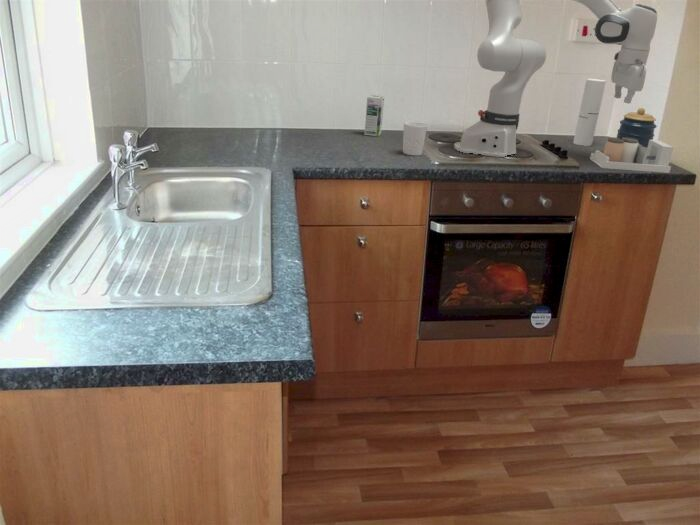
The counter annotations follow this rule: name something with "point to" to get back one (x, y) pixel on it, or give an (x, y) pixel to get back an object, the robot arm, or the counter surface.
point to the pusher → (642, 155)
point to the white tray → (657, 165)
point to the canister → (637, 127)
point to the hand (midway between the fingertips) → (621, 100)
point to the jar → (614, 149)
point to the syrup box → (374, 115)
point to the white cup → (414, 138)
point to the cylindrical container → (589, 112)
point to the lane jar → (629, 150)
